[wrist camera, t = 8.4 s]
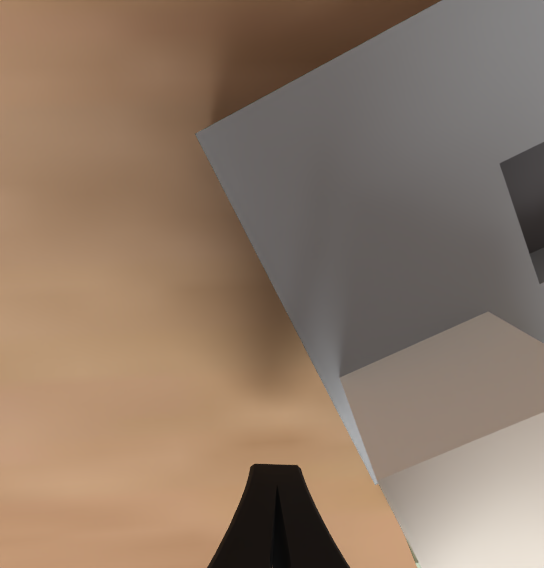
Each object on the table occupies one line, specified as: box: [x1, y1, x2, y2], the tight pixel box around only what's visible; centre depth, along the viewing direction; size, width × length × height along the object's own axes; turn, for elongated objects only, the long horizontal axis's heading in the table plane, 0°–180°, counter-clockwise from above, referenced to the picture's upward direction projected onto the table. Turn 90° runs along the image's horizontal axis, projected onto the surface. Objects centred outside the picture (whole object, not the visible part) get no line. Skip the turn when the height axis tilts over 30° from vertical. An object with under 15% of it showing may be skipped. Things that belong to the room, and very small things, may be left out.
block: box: [340, 312, 544, 568], centre depth 9 cm, size 4×4×4 cm
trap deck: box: [195, 0, 544, 568], centre depth 11 cm, size 20×11×4 cm, turn 26°
